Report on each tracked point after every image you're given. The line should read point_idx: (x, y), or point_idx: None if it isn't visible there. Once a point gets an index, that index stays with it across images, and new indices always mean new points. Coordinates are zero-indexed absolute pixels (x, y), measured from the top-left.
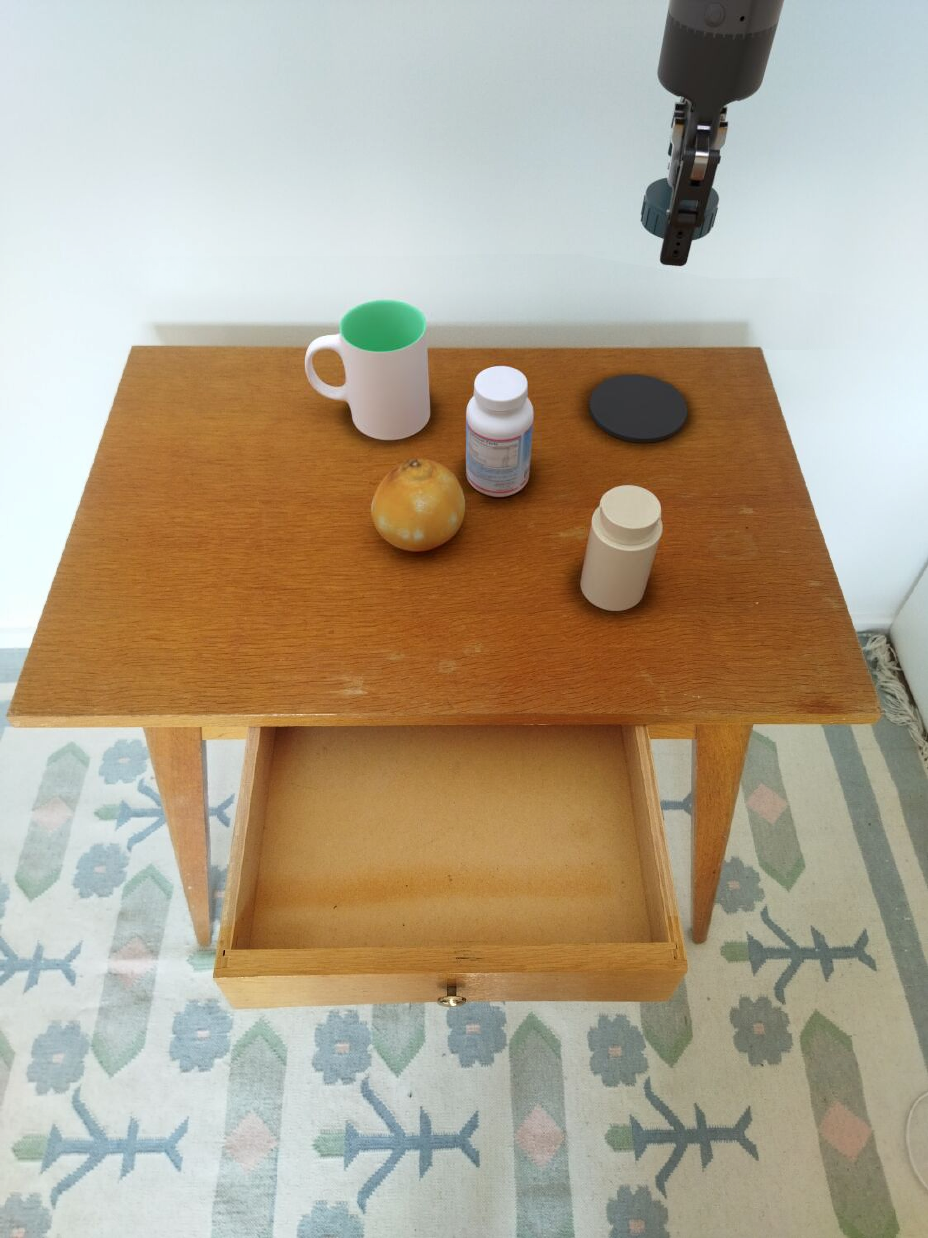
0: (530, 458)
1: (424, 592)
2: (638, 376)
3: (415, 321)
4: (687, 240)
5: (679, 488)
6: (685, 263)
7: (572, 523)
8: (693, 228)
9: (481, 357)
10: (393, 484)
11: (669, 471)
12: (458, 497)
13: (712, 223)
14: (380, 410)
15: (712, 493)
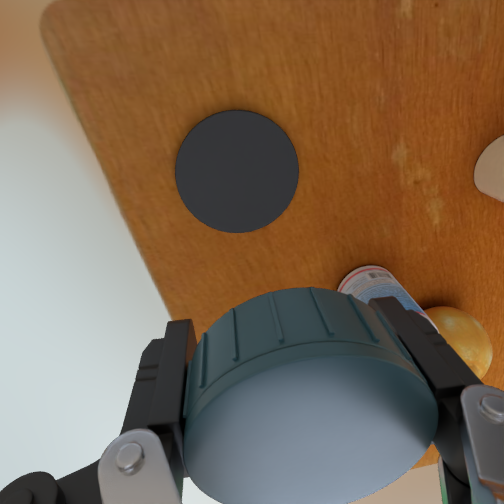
0: (379, 279)
1: (489, 305)
2: (181, 184)
3: None
4: (461, 358)
5: (369, 106)
6: (393, 296)
7: (422, 214)
8: (451, 371)
9: (196, 338)
10: None
11: (341, 122)
12: (465, 330)
13: (333, 302)
14: None
15: (375, 60)
